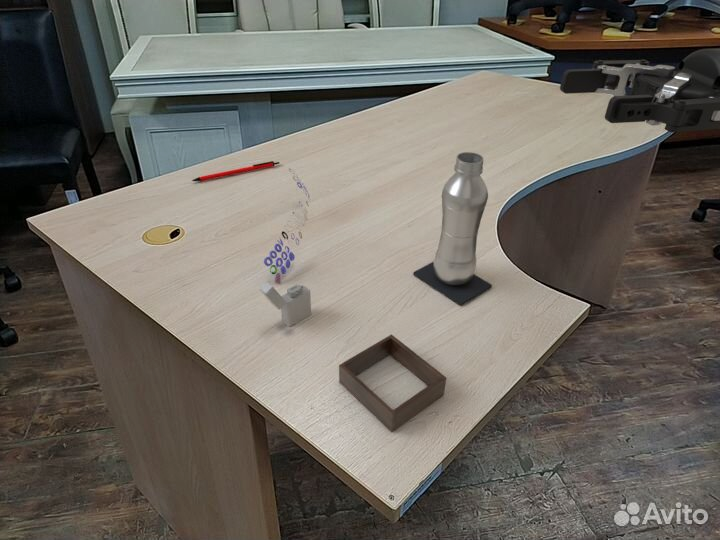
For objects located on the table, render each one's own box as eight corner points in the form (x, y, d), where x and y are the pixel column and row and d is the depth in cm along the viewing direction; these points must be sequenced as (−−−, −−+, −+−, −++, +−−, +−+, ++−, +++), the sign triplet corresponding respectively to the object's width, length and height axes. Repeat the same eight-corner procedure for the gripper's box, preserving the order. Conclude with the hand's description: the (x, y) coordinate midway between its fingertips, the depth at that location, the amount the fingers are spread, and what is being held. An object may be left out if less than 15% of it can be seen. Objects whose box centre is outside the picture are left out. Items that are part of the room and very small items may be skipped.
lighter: (304, 308, 76) (301, 263, 72) (312, 314, 75) (309, 268, 71) (263, 330, 73) (257, 284, 68) (271, 337, 72) (265, 290, 67)
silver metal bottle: (472, 266, 84) (492, 148, 72) (475, 293, 79) (497, 170, 67) (431, 263, 85) (444, 146, 73) (432, 289, 79) (446, 167, 68)
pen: (280, 165, 115) (279, 160, 114) (192, 183, 108) (191, 178, 107) (278, 163, 116) (278, 159, 115) (191, 181, 108) (190, 176, 108)
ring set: (318, 298, 82) (288, 245, 74) (253, 302, 86) (218, 252, 78) (351, 195, 98) (329, 143, 90) (295, 203, 102) (270, 153, 94)
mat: (491, 287, 81) (492, 284, 80) (461, 306, 77) (461, 303, 77) (443, 258, 87) (443, 255, 87) (413, 274, 83) (413, 271, 83)
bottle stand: (444, 394, 64) (446, 377, 62) (391, 432, 59) (392, 415, 57) (390, 350, 70) (391, 334, 68) (339, 382, 65) (338, 365, 63)
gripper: (700, 32, 56) (558, 36, 54) (816, 69, 45) (642, 75, 42) (674, 103, 60) (542, 109, 58) (774, 152, 49) (614, 163, 47)
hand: (584, 95), depth 50 cm, fingers open, 8 cm apart
